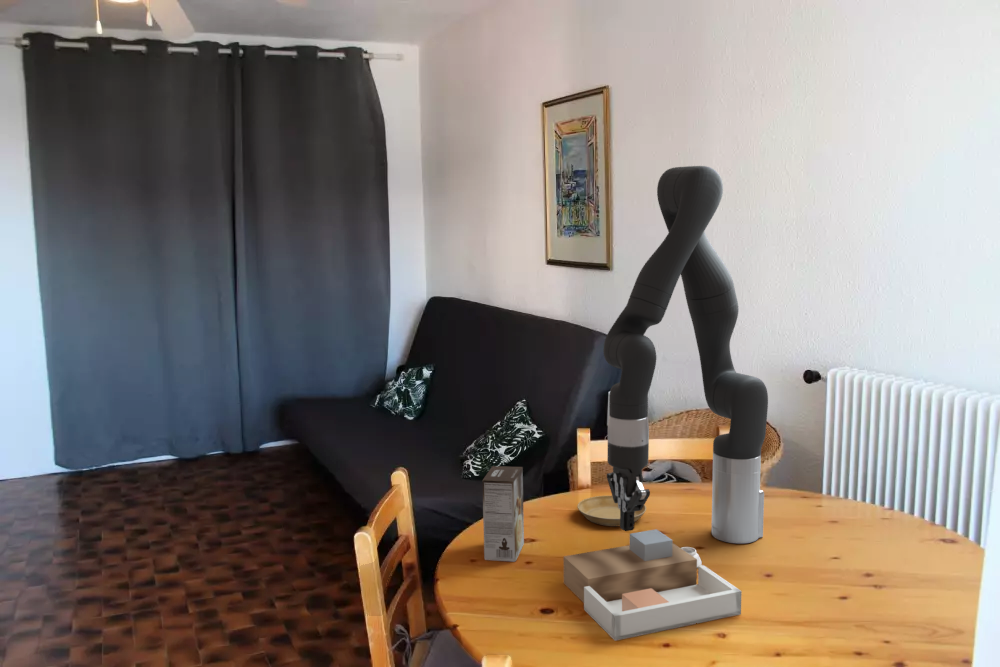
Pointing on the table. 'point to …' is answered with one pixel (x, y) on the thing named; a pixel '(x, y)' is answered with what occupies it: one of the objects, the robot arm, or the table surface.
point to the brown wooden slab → (627, 572)
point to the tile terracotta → (641, 599)
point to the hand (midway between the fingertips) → (627, 529)
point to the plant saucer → (604, 510)
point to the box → (667, 607)
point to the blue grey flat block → (651, 545)
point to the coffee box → (503, 513)
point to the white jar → (693, 554)
